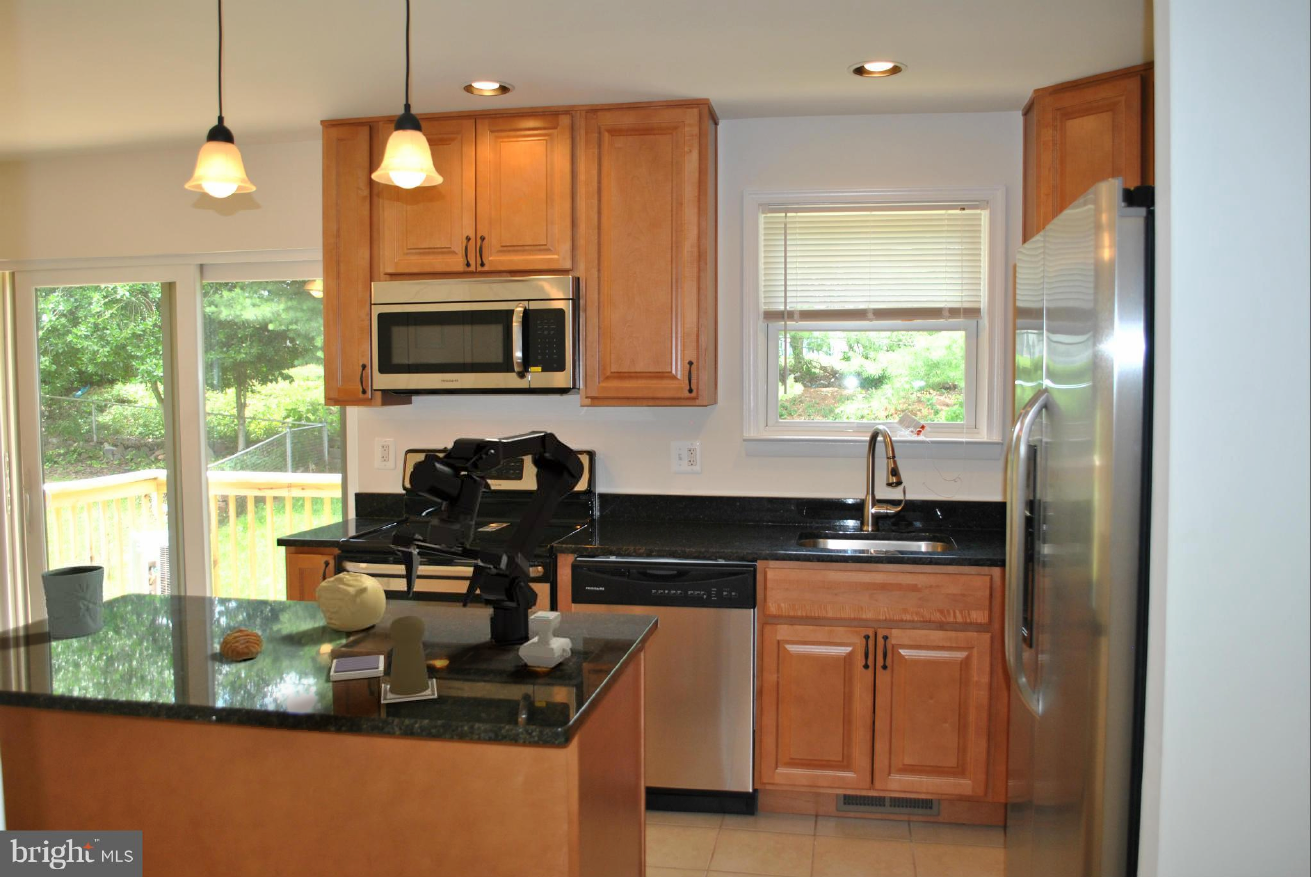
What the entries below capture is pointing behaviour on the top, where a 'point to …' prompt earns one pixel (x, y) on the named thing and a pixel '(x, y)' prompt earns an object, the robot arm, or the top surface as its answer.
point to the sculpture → (351, 601)
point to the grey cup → (74, 601)
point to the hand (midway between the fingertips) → (436, 601)
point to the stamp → (545, 641)
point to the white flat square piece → (389, 697)
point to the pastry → (241, 645)
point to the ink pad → (357, 667)
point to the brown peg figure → (408, 657)
